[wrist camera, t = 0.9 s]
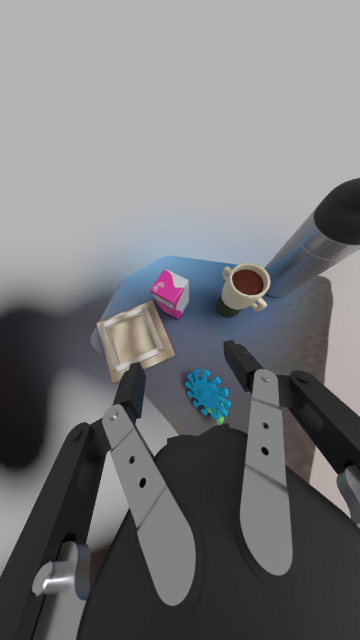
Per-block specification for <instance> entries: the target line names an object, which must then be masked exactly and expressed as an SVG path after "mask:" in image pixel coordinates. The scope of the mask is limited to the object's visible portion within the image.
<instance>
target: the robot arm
mask: <svg viewBox="0 0 360 640" xmlns="http://www.w3.org/2000/svg"><path fill="white" fill-rule="evenodd" d="M359 249H360V178H357V179H353V180H350V181H347V182H345V183H342V184H341V185H339V186H337V187H336V188H335V189H333V190H332V191H331V192H330V193H329V194H328V195H327V196H326V197H325V198H324V200H323V201H322V202H321V203H320V204H319V205H318V207H317V208H316V209H315V210H314V212H312V214H311V215H310V216H309V217H308V218H307V219H306V221H305V222H304V223H303V224H302V225H301V226H300V228H299V229H298V230H297V231H296V232H295V233H294V235H293V236H292V237H291V238H290V239H289V240H288V241H287V243H286V244H285V245H284V246H283V247H282V248H281V249H280V251H279V252H278V253H277V254H276V255H275V257H274V258H273V259H272V260H271V261H270V262H269V263H268V264H267V266H266V267H265V268H264V269H265V270H266V271H267V273H268V274H269V277H270V286H269V289H268V290H267V292H266V293H265V294H267V295H269V296H272V297H283V296H285V295H287V294H289V293H290V292H292V291H294V290H295V289H297V288H299V287H300V286H302V285H303V284H305V283H306V282H308V281H310V280H311V279H313V278H314V277H316V276H318V275H319V274H321V273H322V272H324V271H326V270H327V269H329V268H330V267H332V266H334V265H335V264H337V263H338V262H340V261H341V260H343V259H345V258H346V257H348V256H349V255H351V254H352V253H354V252H355V251H357V250H359ZM224 356H225V359H226V361H227V363H228V364H229V366H230V368H231V369H232V371H233V373H234V374H235V376H236V378H237V379H238V381H239V383H240V384H241V386H242V388H243V389H244V391H245V392H249V391H250V392H251V394H252V402H251V411H250V420H249V430H248V434H246V433H244V432H242V431H240V430H237V429H234V428H230V427H229V425H228V423H227V424H223V425H219V426H215V427H212V428H211V429H209V430H207V431H206V432H204V433H203V434H201V435H199V436H192V435H179V436H175V437H172V438H168V439H167V445H165V446H164V447H163V448H162V449H161V450H160V451H159V452H158V453H157V454H156V456H154V455H153V453H152V452H151V450H150V449H149V447H148V445H147V444H146V442H145V440H144V439H143V437H142V435H141V434H140V432H139V430H138V429H137V427H136V425H135V423H136V419H138V418H141V413H142V405H143V396H144V389H145V381H146V376H145V372H144V370H143V368H142V366H141V364H140V362H136V363H132V364H130V367H129V370H127V371H125V372H124V374H123V375H122V377H121V380H120V384H119V387H118V390H117V393H116V396H115V399H114V402H113V405H112V407H110V408H109V409H108V410H107V411H106V412H105V414H104V416H103V418H101V419H99V420H98V421H96V422H94V423H92V424H91V425H89V424H88V423H86V422H83V423H80V424H78V425H77V426H75V427H74V428H73V429H72V430H71V431H70V433H69V434H68V436H67V437H66V439H65V441H64V443H63V445H62V448H61V450H60V452H59V454H58V456H57V458H56V460H55V462H54V464H53V467H52V469H51V471H50V473H49V475H48V477H47V479H46V482H45V484H44V486H43V488H42V490H41V492H40V495H39V497H38V498H37V501H36V503H35V505H34V507H33V509H32V511H31V513H30V515H29V518H28V520H27V522H26V524H25V526H24V528H23V531H22V532H21V535H20V537H19V539H18V541H17V543H16V545H15V548H14V549H13V552H12V554H11V556H10V558H9V560H8V562H7V564H6V567H5V569H4V571H3V573H2V575H1V577H0V640H360V417H359V416H358V415H357V414H356V413H355V412H354V411H352V410H351V409H350V408H349V407H348V406H347V405H346V404H344V403H343V402H342V401H341V400H340V399H339V398H338V397H336V396H335V395H334V394H333V393H332V392H330V390H328V389H327V388H326V387H325V386H324V385H323V384H322V383H320V382H319V381H318V380H317V379H316V378H315V377H313V376H312V375H311V374H309V373H306V372H304V371H293V372H291V374H290V376H285V375H275V374H274V373H272V372H271V371H269V370H265V369H264V368H263V367H262V366H261V365H260V364H259V363H258V362H257V360H256V359H255V358H254V357H253V356H252V355H251V354H250V353H249V352H248V350H247V349H246V348H245V347H244V346H242V345H240V344H237V345H236V344H235V343H234V341H233V340H229V341H225V342H224ZM279 406H280V407H287V408H288V409H289V410H290V412H291V413H292V414H293V416H294V417H295V418H296V420H297V421H298V422H299V424H300V425H301V426H302V428H303V429H304V430H305V432H306V433H307V434H308V436H309V437H310V438H311V440H312V441H313V442H314V444H315V445H316V446H317V448H318V449H319V450H320V452H321V453H322V454H323V456H324V457H325V458H326V459H327V461H328V462H329V464H330V465H331V466H332V467H333V469H334V470H335V472H336V473H337V474H338V477H337V486H338V489H339V491H340V493H341V495H342V496H343V498H344V500H345V501H346V503H347V505H348V507H349V510H350V514H351V519H350V518H349V517H348V516H347V515H346V514H345V513H344V512H343V511H342V510H341V509H339V508H338V507H337V506H336V505H334V504H333V503H332V502H331V501H329V500H328V499H327V498H326V497H325V496H323V495H322V494H321V493H320V492H318V491H317V490H316V489H315V488H313V487H312V486H311V485H310V484H309V483H307V482H306V481H305V480H304V479H302V478H301V477H300V476H299V475H297V474H296V473H295V472H294V471H293V470H291V469H290V468H289V467H288V466H286V465H285V457H284V441H283V425H282V411H281V408H280V407H279ZM111 449H112V450H111ZM110 450H111V456H112V459H113V462H114V465H115V468H116V470H117V473H118V476H119V479H120V482H121V484H122V487H123V490H124V493H125V495H126V498H127V501H128V504H129V510H128V512H127V514H126V516H125V518H124V520H123V522H122V524H121V526H120V528H119V530H118V532H117V534H116V536H115V538H114V540H113V542H112V544H111V546H110V549H109V551H108V553H107V555H106V557H105V559H104V561H103V563H102V565H101V567H100V569H99V571H98V573H97V575H96V577H95V579H94V582H93V584H92V586H91V589H90V586H89V572H90V559H91V555H90V549H89V546H88V545H87V544H86V541H87V536H88V532H89V527H90V523H91V519H92V514H93V510H94V505H95V501H96V497H97V493H98V488H99V484H100V480H101V475H102V471H103V467H104V462H105V458H106V454H107V452H108V451H110Z"/></svg>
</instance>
